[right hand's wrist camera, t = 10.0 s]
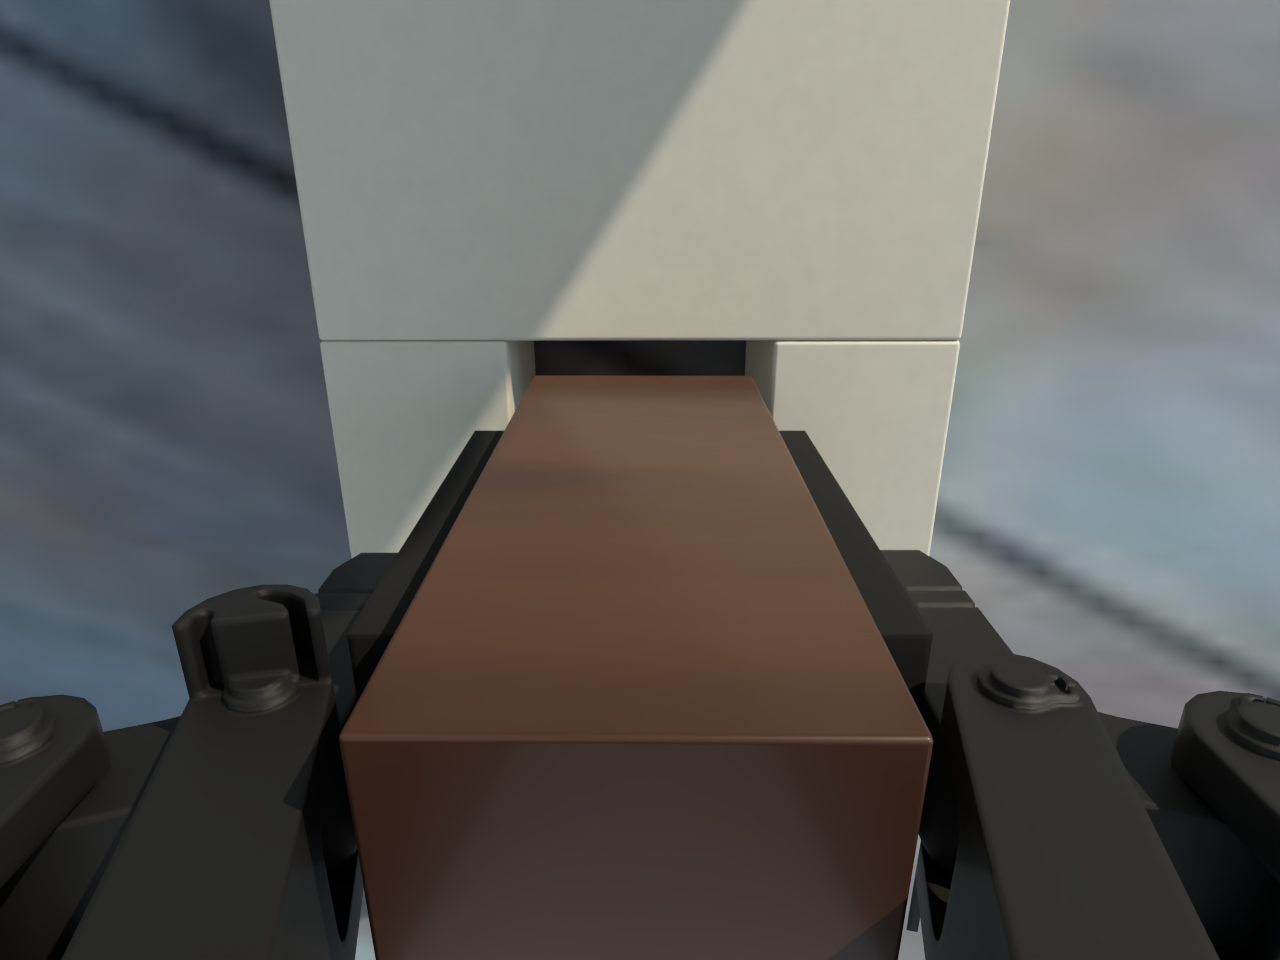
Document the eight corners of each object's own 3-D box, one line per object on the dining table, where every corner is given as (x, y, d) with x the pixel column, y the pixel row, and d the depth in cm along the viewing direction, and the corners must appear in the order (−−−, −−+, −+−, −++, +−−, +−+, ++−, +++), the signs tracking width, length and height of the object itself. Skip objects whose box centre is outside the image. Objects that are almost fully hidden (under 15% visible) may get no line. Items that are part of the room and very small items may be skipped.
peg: (742, 570, 16) (873, 1126, 7) (543, 569, 16) (400, 1120, 7) (752, 374, 15) (937, 739, 5) (533, 375, 15) (333, 736, 5)
